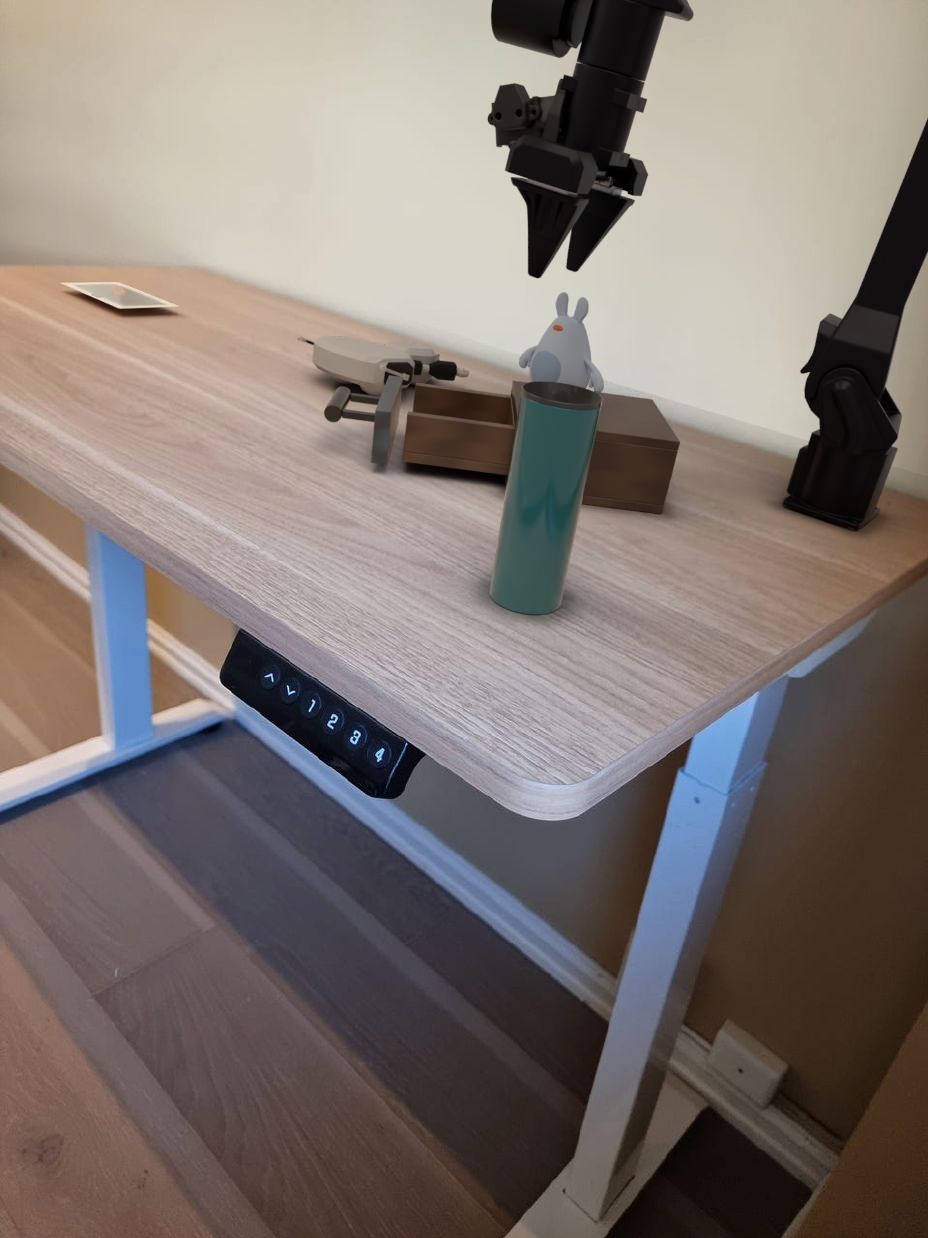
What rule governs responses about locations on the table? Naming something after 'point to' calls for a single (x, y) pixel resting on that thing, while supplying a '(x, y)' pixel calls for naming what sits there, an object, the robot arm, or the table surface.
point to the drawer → (437, 425)
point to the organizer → (627, 454)
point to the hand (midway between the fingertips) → (553, 273)
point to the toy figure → (564, 350)
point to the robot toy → (379, 362)
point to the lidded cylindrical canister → (544, 495)
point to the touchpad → (119, 295)
